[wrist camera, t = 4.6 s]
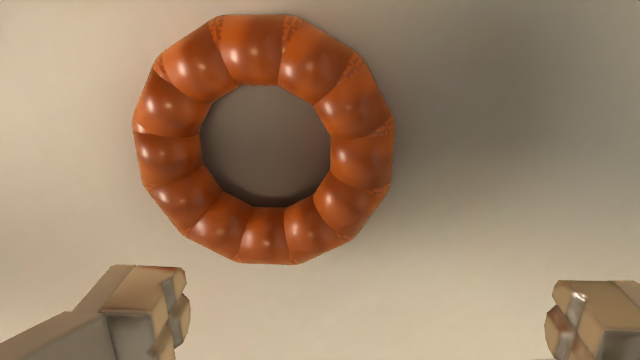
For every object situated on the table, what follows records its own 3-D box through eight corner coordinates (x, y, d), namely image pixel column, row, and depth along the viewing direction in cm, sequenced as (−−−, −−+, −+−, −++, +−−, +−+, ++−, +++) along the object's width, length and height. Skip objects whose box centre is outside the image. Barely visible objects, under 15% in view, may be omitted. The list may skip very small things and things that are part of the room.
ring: (398, 13, 18) (406, 16, 16) (383, 247, 23) (387, 279, 20) (131, 13, 19) (97, 16, 16) (169, 241, 23) (147, 272, 21)
